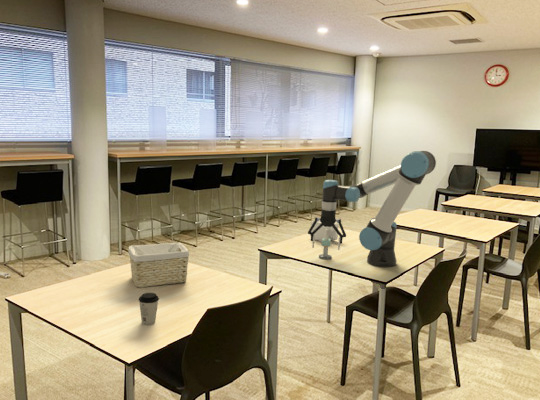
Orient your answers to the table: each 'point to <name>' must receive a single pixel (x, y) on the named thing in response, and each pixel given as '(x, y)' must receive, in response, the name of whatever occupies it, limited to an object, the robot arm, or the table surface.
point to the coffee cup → (148, 308)
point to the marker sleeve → (326, 242)
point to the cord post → (325, 249)
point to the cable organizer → (321, 232)
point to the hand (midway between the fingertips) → (325, 248)
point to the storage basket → (158, 264)
